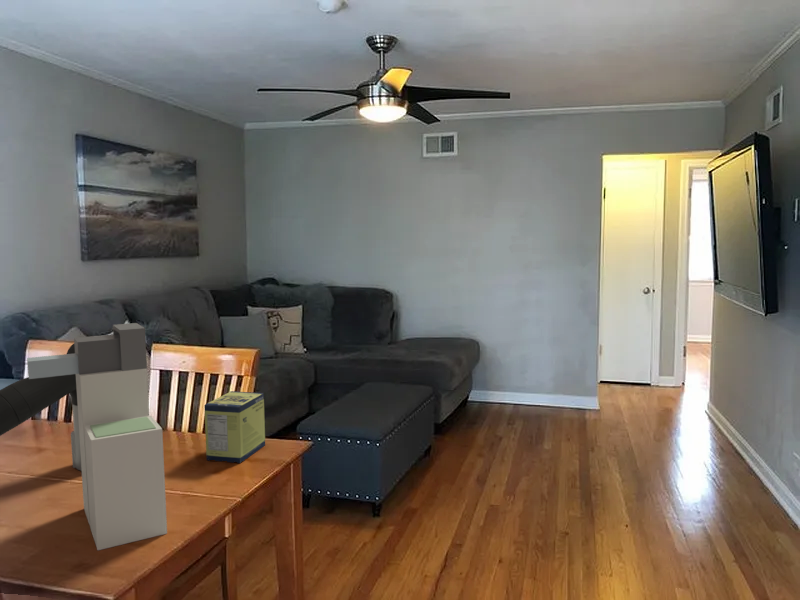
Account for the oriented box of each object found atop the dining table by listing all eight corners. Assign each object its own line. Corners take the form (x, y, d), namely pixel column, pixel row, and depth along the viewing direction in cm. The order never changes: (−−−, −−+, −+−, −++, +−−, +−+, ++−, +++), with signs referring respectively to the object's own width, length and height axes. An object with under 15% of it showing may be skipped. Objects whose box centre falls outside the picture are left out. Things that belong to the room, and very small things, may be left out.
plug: (29, 380, 129) (27, 346, 128) (27, 374, 135) (25, 341, 134) (130, 369, 139) (129, 337, 138) (125, 363, 145) (123, 333, 144)
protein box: (266, 444, 186) (264, 392, 185) (241, 463, 171) (239, 406, 169) (233, 442, 189) (231, 390, 187) (205, 461, 173) (203, 404, 172)
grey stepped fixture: (97, 550, 125) (85, 342, 120) (83, 508, 144) (72, 327, 139) (167, 533, 132) (157, 336, 127) (145, 495, 151) (136, 322, 146)
